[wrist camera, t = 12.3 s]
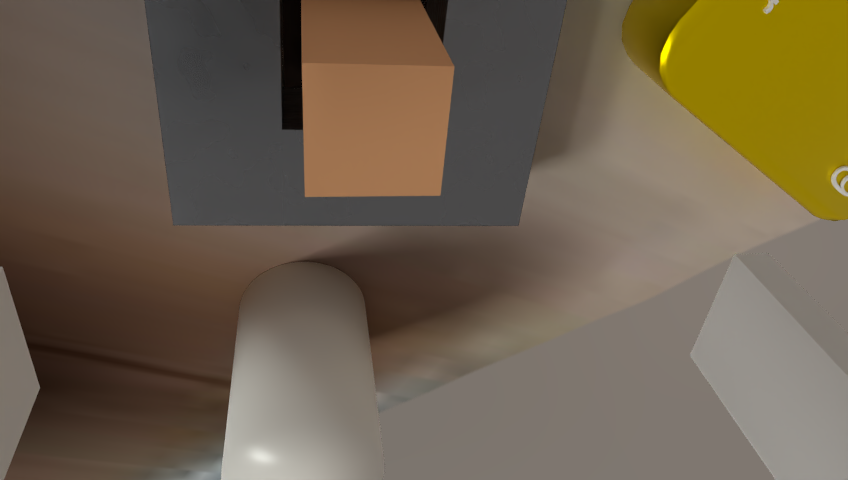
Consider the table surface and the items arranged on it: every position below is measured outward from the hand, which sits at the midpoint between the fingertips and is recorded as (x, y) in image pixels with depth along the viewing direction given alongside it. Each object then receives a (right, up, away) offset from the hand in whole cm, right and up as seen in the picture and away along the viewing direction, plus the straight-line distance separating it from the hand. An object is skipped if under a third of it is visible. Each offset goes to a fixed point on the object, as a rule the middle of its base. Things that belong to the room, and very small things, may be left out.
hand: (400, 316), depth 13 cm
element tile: (+18, +13, +17) cm, 28 cm away
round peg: (-6, -2, +22) cm, 23 cm away
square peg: (-2, +10, +14) cm, 18 cm away
